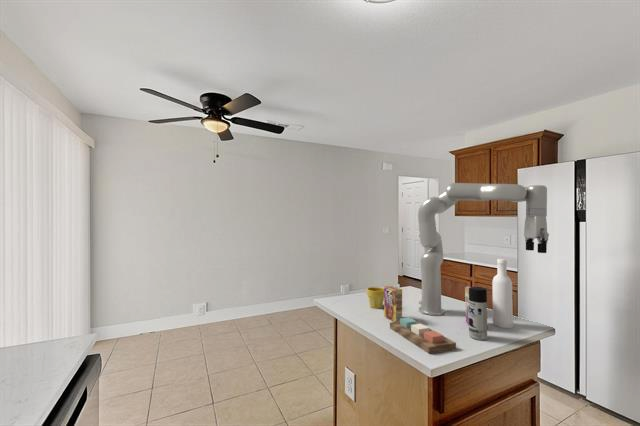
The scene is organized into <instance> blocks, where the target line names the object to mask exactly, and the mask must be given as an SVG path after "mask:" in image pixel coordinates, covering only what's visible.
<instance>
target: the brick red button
mask: <svg viewBox="0 0 640 426" xmlns="http://www.w3.org/2000/svg"><path fill="white" fill-rule="evenodd" d="M443 336H444V335H443V334H442V333H440V332H438V331H435V330H433V331H428V332H424V339H425V340H427V341H428V342H430V343H432V344H434V343H441V342H444V340H443Z"/></svg>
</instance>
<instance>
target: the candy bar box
mask: <svg viewBox="0 0 640 426" xmlns="http://www.w3.org/2000/svg"><path fill="white" fill-rule="evenodd" d="M469 287H470V286H464V297H465V298H464V299H465V301H464V303H465V321H466V323H467V325H468V326H469Z"/></svg>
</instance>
